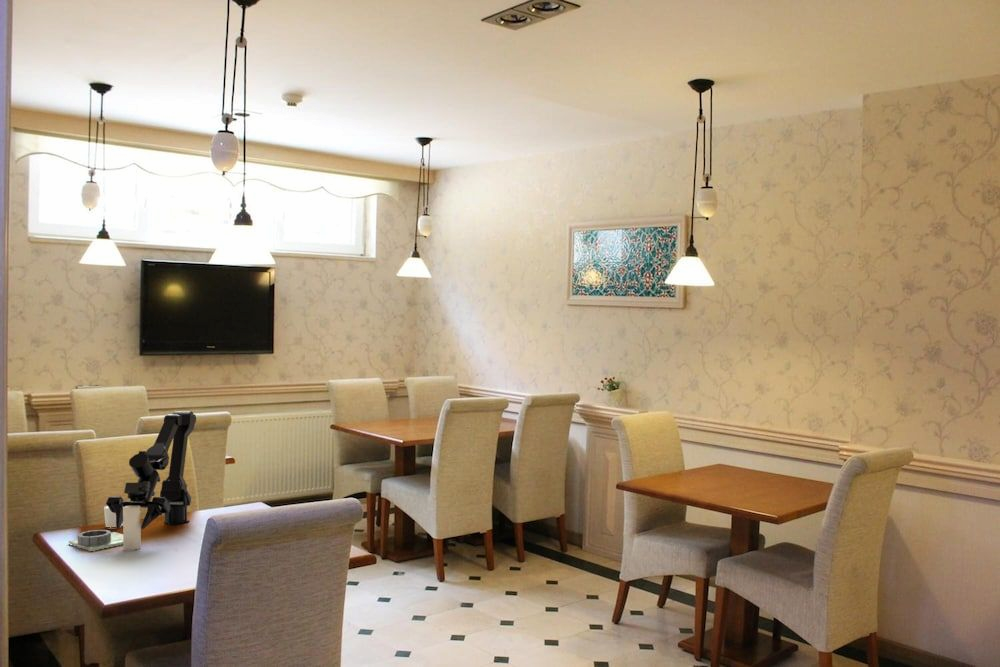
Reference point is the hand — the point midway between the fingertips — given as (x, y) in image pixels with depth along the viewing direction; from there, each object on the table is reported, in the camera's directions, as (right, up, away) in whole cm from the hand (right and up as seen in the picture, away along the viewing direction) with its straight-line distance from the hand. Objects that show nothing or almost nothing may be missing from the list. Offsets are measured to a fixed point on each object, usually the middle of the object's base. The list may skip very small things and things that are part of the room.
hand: (129, 528), depth 265 cm
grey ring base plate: (-12, -6, +7) cm, 15 cm away
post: (0, -7, +1) cm, 7 cm away
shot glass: (-18, -6, +29) cm, 35 cm away
